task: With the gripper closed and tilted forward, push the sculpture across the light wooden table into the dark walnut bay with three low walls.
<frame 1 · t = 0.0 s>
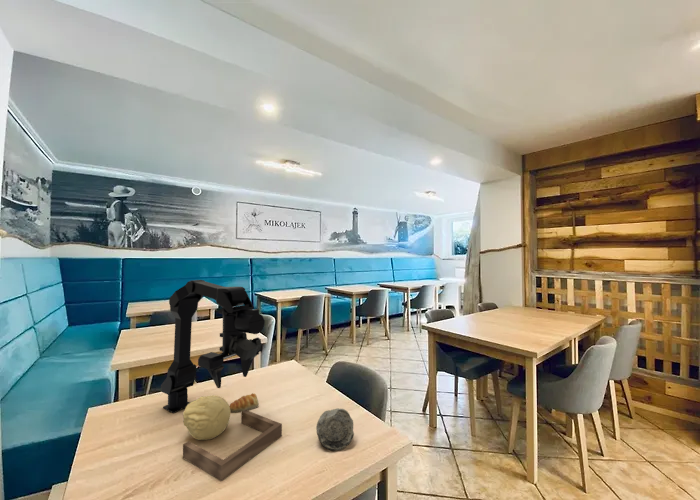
hand: (232, 382, 89), 15 cm above the table, tool pointing down, fingers open, 9 cm apart
pastry: (245, 408, 103), on the table
fossil: (334, 442, 84), on the table
walnut bay: (233, 445, 82), on the table
sculpture: (208, 434, 88), on the table
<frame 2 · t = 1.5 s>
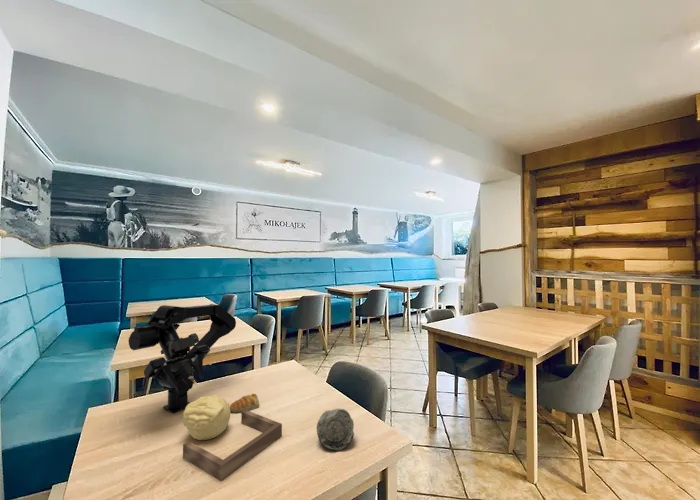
hand: (190, 382, 93), 13 cm above the table, tool tilted 45°, fingers open, 8 cm apart
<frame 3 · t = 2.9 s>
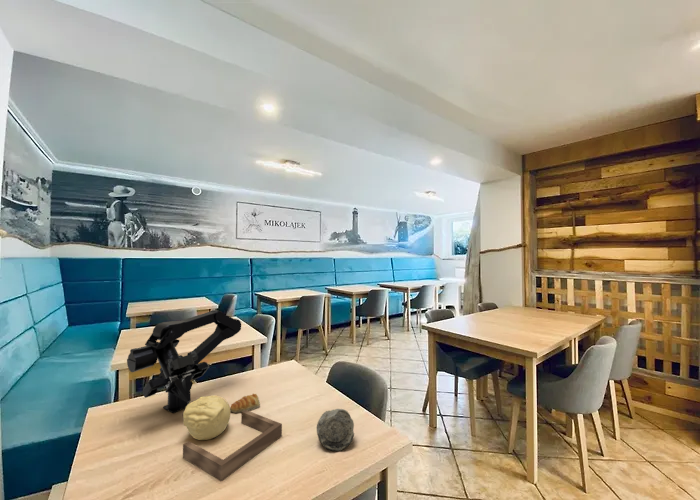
hand: (188, 401, 93), 7 cm above the table, tool tilted 45°, fingers closed
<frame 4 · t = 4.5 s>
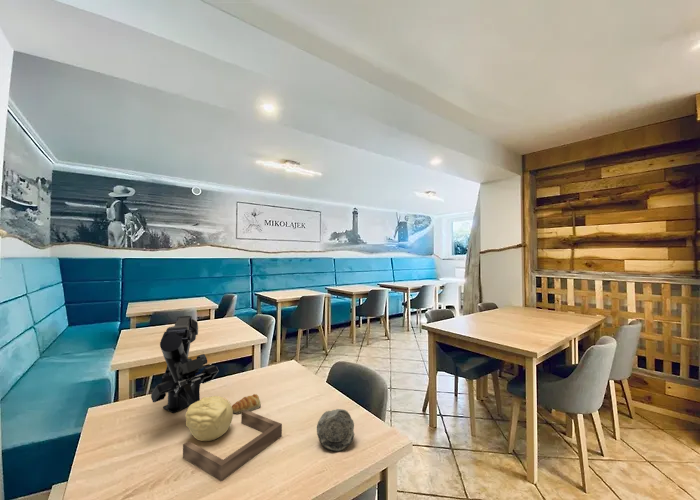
hand: (198, 406, 90), 7 cm above the table, tool tilted 45°, fingers closed
sculpture: (210, 434, 87), on the table, touching gripper
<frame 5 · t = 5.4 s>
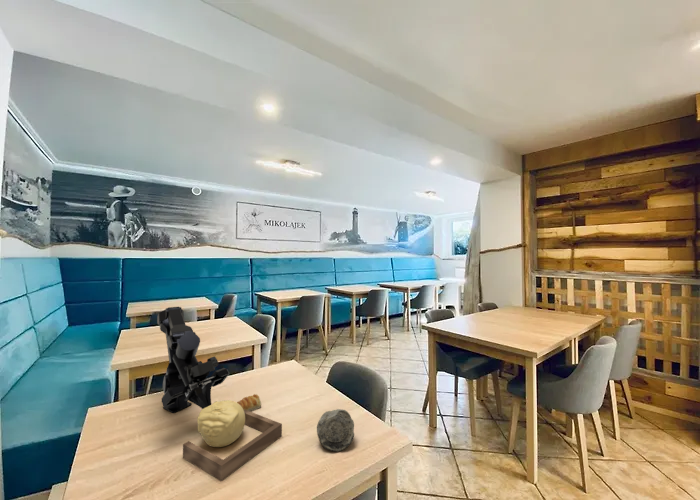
hand: (209, 410, 87), 7 cm above the table, tool tilted 45°, fingers closed, pressing on sculpture
sculpture: (222, 440, 85), on the table, touching gripper
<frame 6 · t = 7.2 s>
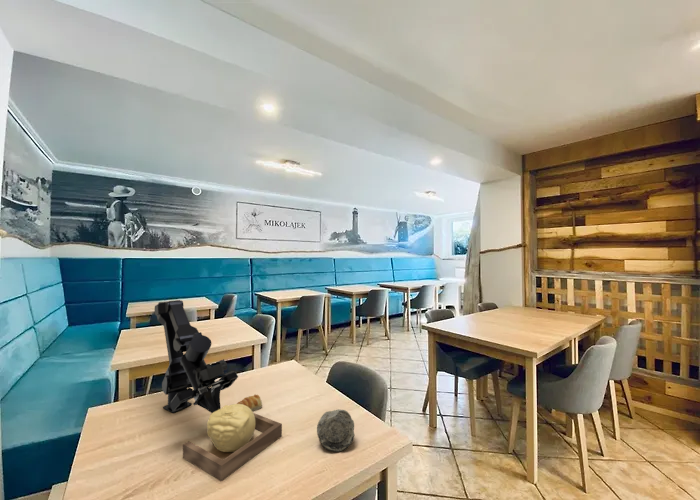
hand: (219, 415, 85), 7 cm above the table, tool tilted 45°, fingers closed
sculpture: (232, 445, 83), on the table
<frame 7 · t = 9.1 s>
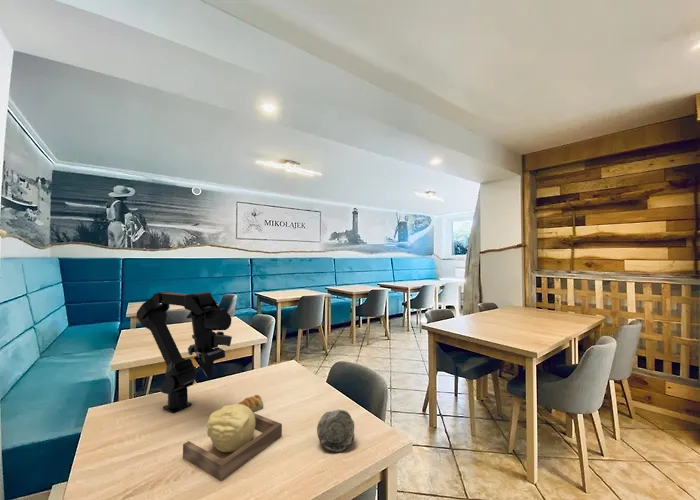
hand: (209, 377, 99), 12 cm above the table, tool pointing down, fingers closed
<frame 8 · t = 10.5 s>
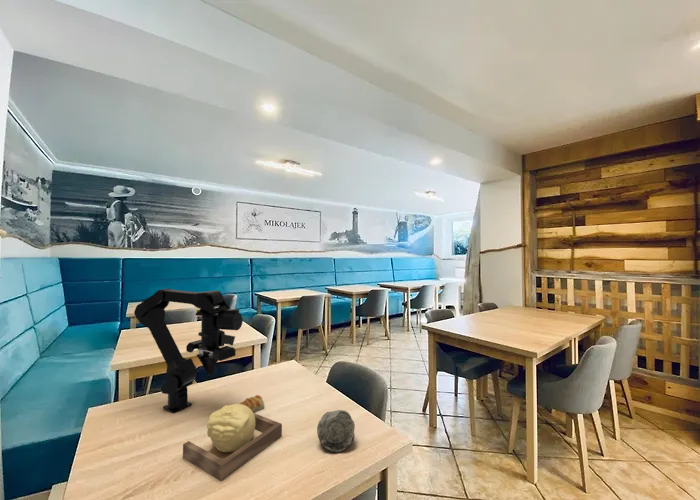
hand: (210, 375, 100), 12 cm above the table, tool pointing down, fingers closed
at the end: sculpture inside the target area on the walnut bay (2.2 cm from its centre), point 0.0 cm above the walnut bay's base; sculpture tilted 0° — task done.
